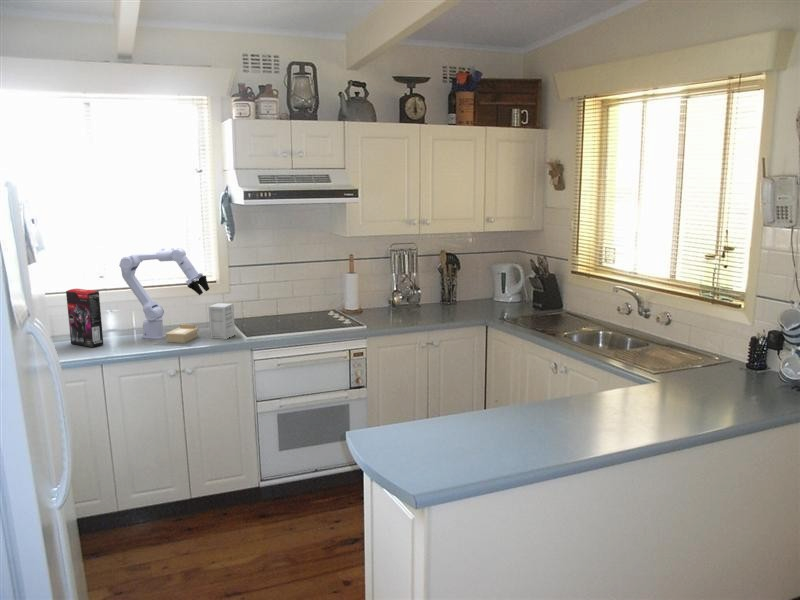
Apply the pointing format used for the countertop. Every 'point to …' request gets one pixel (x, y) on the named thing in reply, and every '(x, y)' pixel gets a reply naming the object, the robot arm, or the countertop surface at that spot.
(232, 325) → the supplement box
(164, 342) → the slate mat
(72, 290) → the graphics card box
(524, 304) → the countertop surface
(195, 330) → the kraft lid
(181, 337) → the kraft box
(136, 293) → the robot arm
